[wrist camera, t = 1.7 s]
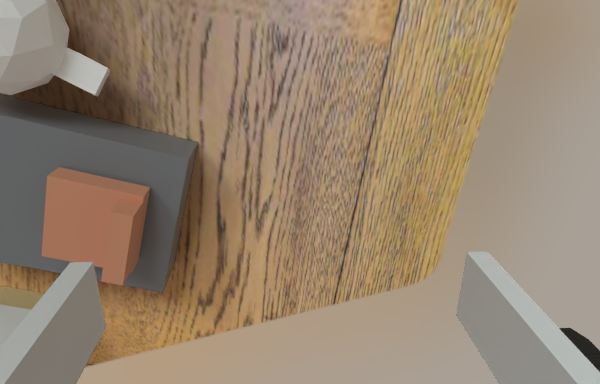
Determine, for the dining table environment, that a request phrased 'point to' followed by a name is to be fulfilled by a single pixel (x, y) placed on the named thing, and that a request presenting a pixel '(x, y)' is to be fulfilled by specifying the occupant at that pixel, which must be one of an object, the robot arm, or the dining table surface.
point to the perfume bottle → (41, 49)
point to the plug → (14, 309)
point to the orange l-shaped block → (94, 221)
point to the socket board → (93, 160)
